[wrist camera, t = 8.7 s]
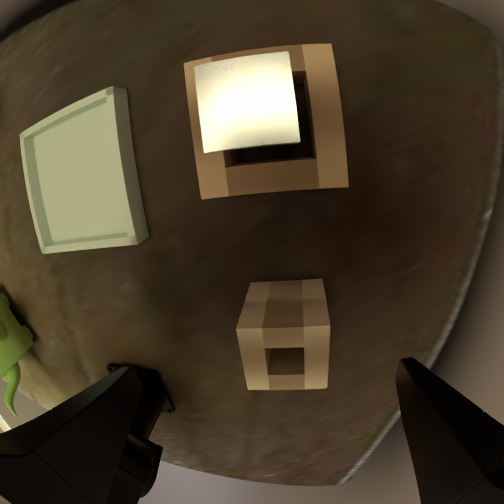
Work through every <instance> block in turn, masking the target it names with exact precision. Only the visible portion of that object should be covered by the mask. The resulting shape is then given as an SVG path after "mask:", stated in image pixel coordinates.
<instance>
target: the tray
mask: <svg viewBox="0 0 504 504" xmlns="http://www.w3.org/2000/svg"><path fill="white" fill-rule="evenodd" d="M20 144H21V154H22V162H23V170H24V176H25V182H26V188H27V194H28V199H29V204H30V208H31V213H32V217H33V222H34V226H35V230H36V233H37V237H38V241H39V244H40V248H41V251H42V254H46V253H56V252H65V251H75V250H85V249H95V248H105V247H116V246H126V245H137V244H139V243H140V242H142V241H143V240H145V239H146V238H147V237H149V232H148V228H147V223H146V218H145V213H144V208H143V203H142V198H141V192H140V187H139V181H138V175H137V169H136V163H135V156H134V149H133V142H132V135H131V126H130V118H129V108H128V98H127V89H124V88H120V87H116V86H111V87H109V88H106V89H104V90H102V91H99V92H97V93H95V94H93V95H90V96H88V97H86V98H84V99H82V100H80V101H77V102H75V103H73V104H71V105H69V106H67V107H65V108H64V109H62V110H60V111H58V112H56V113H54V114H52V115H50V116H49V117H47V118H45V119H43V120H42V121H40V122H38V123H36V124H35V125H33V126H32V127H30V128H28V129H27V130H25V131H23V132H22V133H20Z"/></svg>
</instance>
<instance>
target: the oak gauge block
mask: <svg viewBox="0 0 504 504" xmlns="http://www.w3.org/2000/svg"><path fill="white" fill-rule="evenodd" d="M287 51H288V52H289V58H290V65H291V71H292V78H293V85H304V91H305V98H306V106H307V114H308V122H309V131H310V140H311V149H312V156H309V157H295V158H283V159H272V160H262V161H252V162H244V163H238V160H237V152H236V150H225V151H216V152H207V153H204V148H203V141H202V133H201V125H200V116H199V108H198V99H197V90H196V81H195V72H194V66H196V65H201V64H205V63H210V62H215V61H220V60H225V59H231V58H237V57H243V56H250V55H258V54H266V53H275V52H287ZM184 70H185V79H186V89H187V97H188V106H189V114H190V122H191V130H192V137H193V145H194V152H195V159H196V166H197V173H198V180H199V186H200V193H201V199H209V198H218V197H227V196H236V195H246V194H256V193H267V192H279V191H292V190H306V189H322V188H341V187H349V185H348V169H347V156H346V144H345V134H344V125H343V116H342V108H341V100H340V93H339V86H338V80H337V74H336V68H335V62H334V56H333V51H332V46H331V44H306V45H290V46H279V47H269V48H261V49H253V50H246V51H240V52H234V53H228V54H223V55H218V56H213V57H208V58H204V59H200V60H195V61H191V62H187V63H184Z"/></svg>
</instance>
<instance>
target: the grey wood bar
mask: <svg viewBox="0 0 504 504" xmlns="http://www.w3.org/2000/svg"><path fill="white" fill-rule="evenodd" d="M194 72H195V81H196V90H197V99H198V108H199V116H200V125H201V133H202V141H203V148H204V153H207V152H216V151H225V150H236V149H248V148H257V147H267V146H278V145H290V144H298V143H299V142H300V134H299V125H298V117H297V108H296V100H295V93H294V85H293V78H292V71H291V65H290V58H289V52H288V51H287V52H275V53H266V54H258V55H250V56H243V57H237V58H231V59H225V60H220V61H215V62H210V63H205V64H201V65H196V66H194Z"/></svg>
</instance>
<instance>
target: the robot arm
mask: <svg viewBox="0 0 504 504" xmlns="http://www.w3.org/2000/svg"><path fill="white" fill-rule="evenodd" d="M106 368H107V370H108V372H109V375H108V376H106V377H105V378H103V379H101V380H100V381H98V382H96V383H95V384H93V385H91V386H90V387H88V388H86V389H85V390H83V391H81V392H80V393H78V394H76V395H75V396H73V397H71V398H70V399H68V400H66V401H65V402H63V403H61V404H59V405H58V406H56V407H54V408H53V409H52V410H49V411H47V412H46V413H44V414H42V415H40V416H38V417H37V418H35V419H33V420H31V421H28V422H26V423H24V424H22V425H20V426H18V427H16V428H13V429H11V430H9V431H6V432H4V433H0V504H137V503H138V501H139V499H140V498H142V497H144V496H145V495H146V494H147V493H148V492H149V491H150V489H151V488H152V486H153V484H154V482H155V479H156V476H157V472H158V467H159V463H160V459H161V454H162V450H163V447H161V446H160V445H156V444H155V443H153V442H151V441H150V440H148V438H149V436H150V434H151V432H152V430H153V427H154V425H155V423H156V421H157V419H158V417H159V415H160V413H161V412H167V413H174V411H175V408H174V406H173V404H172V402H171V399H170V397H169V395H168V393H167V391H166V389H165V386H164V384H163V382H162V380H161V378H160V375H159V373H158V372H156V371H154V370H148V369H140V368H133V367H127V366H121V365H115V364H108V365H107V367H106ZM396 387H397V393H398V398H399V404H400V411H401V417H402V423H403V427H404V431H405V434H406V438H407V442H408V446H409V450H410V454H411V458H412V462H413V466H414V470H415V475H416V480H417V485H418V489H419V495H420V500H421V504H504V426H503V425H502V424H501V423H499V422H498V421H497V420H495V419H494V418H492V417H491V416H490V415H488V414H487V413H486V412H483V410H482V409H481V408H479V407H478V406H477V405H475V404H474V403H473V402H471V401H470V400H469V399H467V398H466V397H465V396H463V395H462V394H461V393H460V392H458V391H457V390H456V389H454V388H453V387H451V386H450V385H449V384H448V383H446V382H445V381H444V380H442V379H441V378H440V377H438V376H437V375H436V374H434V373H433V372H432V371H430V370H429V369H428V368H426V367H425V366H424V365H422V364H421V363H420V362H418V361H417V360H416V359H414V358H413V357H409V358H403V359H401V360H400V362H399V365H398V370H397V374H396Z"/></svg>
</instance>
